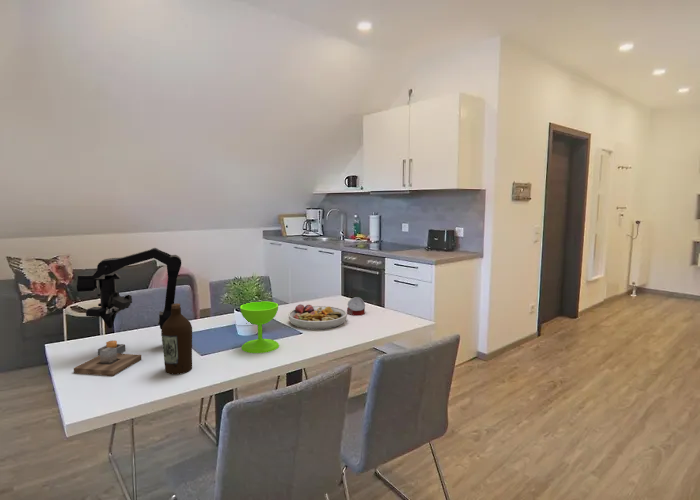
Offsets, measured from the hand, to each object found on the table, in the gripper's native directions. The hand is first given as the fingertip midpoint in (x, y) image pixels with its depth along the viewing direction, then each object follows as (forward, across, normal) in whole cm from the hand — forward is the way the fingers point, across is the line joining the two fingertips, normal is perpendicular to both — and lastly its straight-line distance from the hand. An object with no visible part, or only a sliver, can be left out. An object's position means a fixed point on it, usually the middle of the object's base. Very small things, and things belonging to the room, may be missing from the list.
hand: (110, 327), depth 175 cm
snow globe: (+11, +78, -90) cm, 120 cm away
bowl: (+12, +58, -73) cm, 94 cm away
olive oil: (+11, -11, -36) cm, 39 cm away
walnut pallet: (+11, -12, -8) cm, 18 cm away
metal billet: (+10, -12, -8) cm, 18 cm away
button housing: (+11, 0, 0) cm, 11 cm away
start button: (+9, 0, 0) cm, 9 cm away
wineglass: (+11, +18, -57) cm, 61 cm away
